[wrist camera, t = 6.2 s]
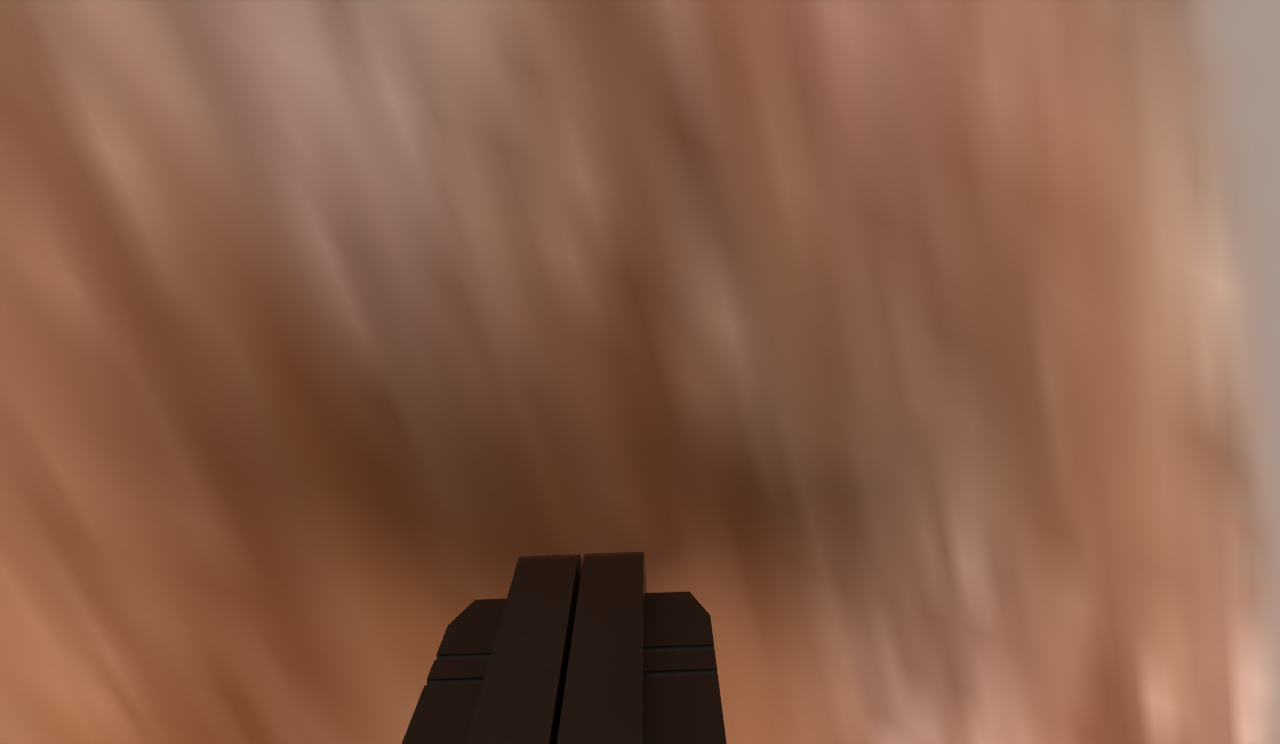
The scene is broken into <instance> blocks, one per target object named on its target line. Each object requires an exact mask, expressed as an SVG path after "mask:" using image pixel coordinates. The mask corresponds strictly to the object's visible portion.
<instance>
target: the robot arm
mask: <svg viewBox="0 0 1280 744" xmlns="http://www.w3.org/2000/svg"><path fill="white" fill-rule="evenodd" d="M402 744H726V736H725V728H724V720H723V713H722V705H721V697H720V689H719V681H718V675H717V665H716V658H715V650H714V642H713V634H712V626H711V618H710V615H709V613H708V612H707V611H706V610H705V609H704V608H703V607H702V606H701V604H700V603H699V602H698V601H697V600H696V599H695V598H694V596H693V595H692V594H691V593H690V592H666V593H646V576H645V559H644V552H626V553H600V554H584V558H583V564H582V560H581V556H580V555H554V556H528V557H520V558H519V559H518V562H517V566H516V569H515V572H514V576H513V579H512V583H511V586H510V590H509V593H508V597H507V599H485V600H475V601H474V602H472V603H471V604H470V605H469V606H468V607H467V608H466V609H465V610H464V611H463V612H462V613H461V614H460V615H459V616H457V617H456V618H455V619H454V620H453V621H452V622H451V623H450V624H449V625H448V627H447V629H446V632H445V634H444V637H443V640H442V642H441V645H440V647H439V650H438V652H437V660H434V663H433V665H432V668H431V670H430V673H429V675H428V678H427V686H424V688H423V691H422V693H421V696H420V698H419V701H418V704H417V706H416V709H415V711H414V714H413V716H412V719H411V722H410V724H409V727H408V729H407V732H406V734H405V737H404V739H403V742H402Z"/></svg>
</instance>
